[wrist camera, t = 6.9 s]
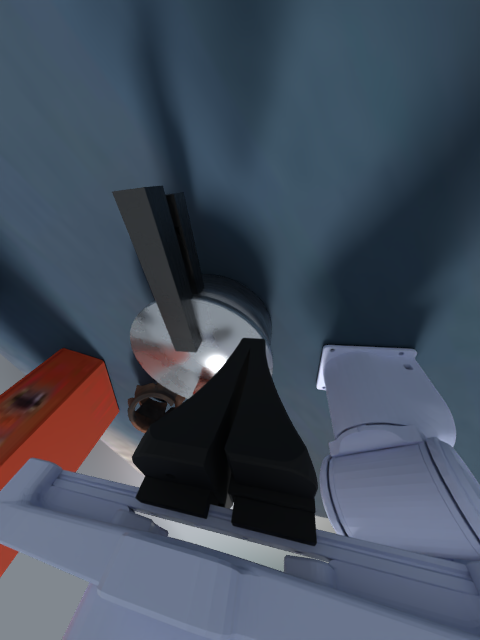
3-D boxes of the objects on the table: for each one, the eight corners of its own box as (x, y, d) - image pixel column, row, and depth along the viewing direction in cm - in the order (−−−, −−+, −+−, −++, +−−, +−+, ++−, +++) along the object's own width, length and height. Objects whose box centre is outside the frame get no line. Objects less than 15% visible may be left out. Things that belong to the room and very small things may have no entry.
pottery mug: (130, 378, 37) (108, 405, 29) (177, 356, 38) (167, 377, 30) (161, 427, 40) (149, 464, 32) (204, 406, 41) (203, 438, 33)
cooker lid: (273, 403, 24) (272, 424, 22) (162, 391, 27) (153, 409, 25) (269, 171, 11) (266, 170, 9) (60, 199, 14) (24, 203, 12)
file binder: (85, 399, 45) (-175, 693, 20) (60, 347, 35) (-572, 832, 9) (120, 410, 45) (-98, 719, 19) (105, 360, 34) (-409, 889, 9)
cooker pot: (272, 382, 30) (270, 414, 26) (185, 374, 32) (171, 402, 28) (269, 181, 16) (264, 183, 12) (117, 199, 18) (70, 206, 15)
